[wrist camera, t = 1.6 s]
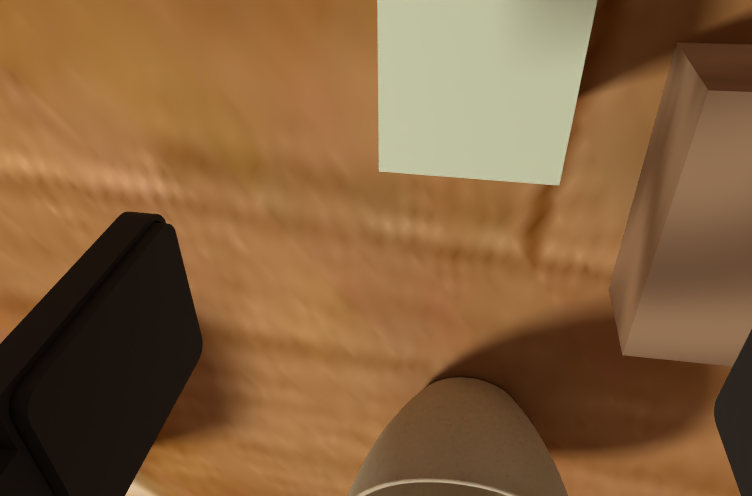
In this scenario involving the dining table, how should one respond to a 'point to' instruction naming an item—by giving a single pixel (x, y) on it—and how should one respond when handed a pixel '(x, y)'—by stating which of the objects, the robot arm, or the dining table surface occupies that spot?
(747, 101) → the brown flat block
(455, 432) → the flower pot
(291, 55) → the dining table surface
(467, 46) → the sage cube
